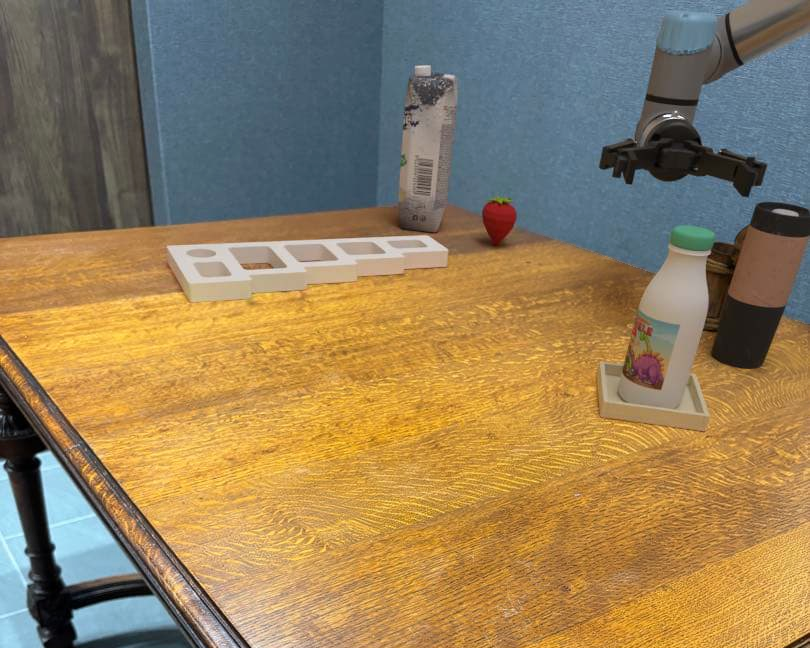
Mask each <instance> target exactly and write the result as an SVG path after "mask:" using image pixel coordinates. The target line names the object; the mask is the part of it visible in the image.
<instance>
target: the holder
mask: <svg viewBox="0 0 810 648" xmlns="http://www.w3.org/2000/svg"><path fill="white" fill-rule="evenodd" d="M449 251H450V250H449V249H448V248H447V247H445V246H444V245H442V244H441V243H439V242H438V241H437V240H435V239H434V238H433V237H431V236H429V235H426V234H423V235H422V234H421V235H401V236H400V235H399V236H395V235H394V236H374V237H351V238H350V237H349V238H327V239H323V238H322V239H300V240H298V239H297V240H277V241H252V242H248V241H247V242H227V243H200V244H180V245H179V244H178V245H177V244H176V245H174V244H173V245H166V254H167V265H168V266H169V268H170V270H171V272H172V273H173V275H174V277H175V278H176V280H177V282H178V283H179V285H180V287H181V289H182V291H183V292H184V294H185V296H186V297H187V299H188V301H189V302H190V303H206V302H222V301H236V300H237V301H238V300H250V299H253V294H260V293H261V294H263V293H274V292H276V293H277V292H292V291H306V290H307V289H308V285H322V284H323V285H324V284H337V283H353V282H357V281H358V277H372V276H388V275H390V276H391V275H404V273H405V270H413V269H414V270H415V269H432V268H446V267H448V260H449ZM252 264H255V265H256V264H269V265H270V266H271V267H272V268H260V269H259V268H258V269H257V268H256V269H246V268H244V267H243V266H242V265H252Z"/></svg>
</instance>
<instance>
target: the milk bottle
mask: <svg viewBox="0 0 810 648" xmlns="http://www.w3.org/2000/svg"><path fill="white" fill-rule="evenodd" d="M715 240H716V233H715V232H714V231H712V230H710V229H708V228H705V227H701V226H696V225H687V224H683V225H681V224H680V225H676V226H674V227H673V229H672V230H671V233H670V238H669V244H668V245H667V248H668V249H669V251H668V254H667V256H666V258H665V260H664V262H663V264H662V265H661V266H660V269H659V270H658V271H657V272H656V274H655V275H654V277H652V280H650V282H649V283H648V285H647V286H646V287H645V290H644V292H643V294H642V296H641V299H640V302H639V305H638V308H637V311H636V315H635V320H634V323H633V326H632V330H631V335H630V338H629V342H628V346H627V350H626V354H625V357H624V362H623V364H624V366H623V370H622V374H621V378H620V382H619V387H618V391H619V394H620V396H621V397H622V399H624V400H625V401H626V402H628V403H632V404H639V405H646V406H653V407H661V408H668V409H674V408H676V407H677V406H678V405H679V404H680V403H681V401H682V398H683V395H684V392H685V388H686V385H687V382H688V379H689V375H690V373H691V371H692V369H693V366H694V361H695V359H696V354H697V352H698V348H699V344H700V341H701V339H702V334H703V331H704V330H703V328H704V324H705V320H706V316H707V311H708V302H709V298H708V288H707V281H706V260H707V257H708V255H710V254H711V249H712V247H713V244H714V242H716V241H715Z"/></svg>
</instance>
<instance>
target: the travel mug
mask: <svg viewBox="0 0 810 648" xmlns="http://www.w3.org/2000/svg"><path fill="white" fill-rule="evenodd" d="M749 224H750V225H749ZM749 224H748V225H749V228H748V231H747V234H746V237H745V240H744V243H743V247H742V250H741V253H740V256H739V259H738V262H737V265H736V268H735V271H734V274H733V278H732V281H731V284H730V287H729V290H728V294H727V297H726V300H725V304H724V308H723V311H722V315H721V318H720V322H719V326H718V329H717V331H716V333H715V336H714V340H713V343H712V347H711V351H710V352H711V353H710V354H711V356H712V358H714V359H715V360H716V361H718V362H720V363H722V364H725V365H727V366H731V367H735V368H741V369H756V368H757V369H758V368H760V367H762V366H763V364H764V363H765V361H766V358H767V355H768V353H769V350H770V348H771V346H772V343H773V340H774V338H775V335H776V332H777V330H778V327H779V325H780V323H781V319H782V317H783V315H784V312H785V310H786V307H787V305H788V303H789V302H788V301H789V299H790V296H791V293H792V290H793V287H794V284H795V282H796V279H797V275H798V273H799V270H800V267H801V264H802V262H803V258H804V256H805V253H806V249H807V246H808V243H809V241H810V209H809V208H808V207H804V206H801V205H797V204H793V203H785V202H778V201H761V202H757V203H756V205H755V207H754V210H753V213H752V216H751V219H750V222H749Z"/></svg>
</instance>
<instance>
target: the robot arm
mask: <svg viewBox="0 0 810 648" xmlns="http://www.w3.org/2000/svg"><path fill="white" fill-rule="evenodd" d="M809 33H810V0H749V1H748V2H746V3H745V4H742V5H741V6H739V7H737V8H735V9H733V10H731V11H729V12H727V13H726V14H723V15H722V16H720V17H717V16H716V15H715V14H714V13H708V12H698V11H689V10H688V11H687V10H674V9H673V10H672V9H671V10H669V11H666V13H665V14H664V15H663V17H662V21H661V24H660V28H659V31H658V35H657V36H656V40H655V49H654V55H653V58H652V64H651V69H650V73H649V78H648V84H647V88H646V93H645V97H644V101H643V105H642V109H641V116H640V118H639V120H638V122H637V123H636V126H635V132H634V135H633V136H634V139H632V138H629V137H628V138H625V139H624V141H619V142H617V143H613V144H608V145H604V146H602V149H601V155H600V160H599V163H598V169H600V170H602V171H605V170H609V169H612V168H613V170H612V174H611V177H612V178H615V179H621V177H623V180H624V183H625V185H631V186H632V185H633V183H634V178H635V174H636V171H637V170H644V171H647V172H648V173H649V174H650V175H651V176H652V177H653V178H654V179H656V180H658V181H661V182H664V183H665V182H666V183H672V182H676V181H680V180H682V179H684V178H686V177H687V176H688V175H690V176H693V177H696V178H697V177H699V178H700V177H706V176H709V177H712V178H715V179H720V180H723V181H727V182H731V183H732V186H733V188H734V189H735V190H736V191H737V192H738V194H739V195H740V196H741V197H742V198H750V195H751V191H752V188H753V187H761V186H762V184H763V182H764V178H765V175H766V171H767V168H768V163H766V162H763V161H760V160H756V158H757V157H756V156H754V155H753V156H747V157H746V156H743V155H741V154H738V153H735V152H732V151H731V150H729V149H728V148H720V149H719V150H718V151H717V153H715V152H714V149H713V148H712V147H710V146H706V145H703V142H702V138H701V135H700V133H699V132H698V130H697V129H696V127H694V126H693V124H694V120H695V117H696V113H697V107H698V104H699V101H700V100H699V99H700V95H701V92H702V87H703V85H704V86H705V85H708V84H709V85H710V84H711V83H714V82H717V81H718V80H720V79H721V78H722V77H723V76H725V75H726V74H728V73H730V72H733V71H735V70H737V69H738V68H740V67H742V66H744V65H746V64H747V63H748V64H749V63H750V62H752V61H754V60H756V59H759V58H760V57H762V56H764V55H766V54H769V53H771V52H773V51H775V50H776V49H778V48H781V47H782V46H785V45H786V44H788V43H791V42H794V41H795V40H797V39H799V38H801V37H803V36H805V35H807V34H809Z"/></svg>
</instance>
